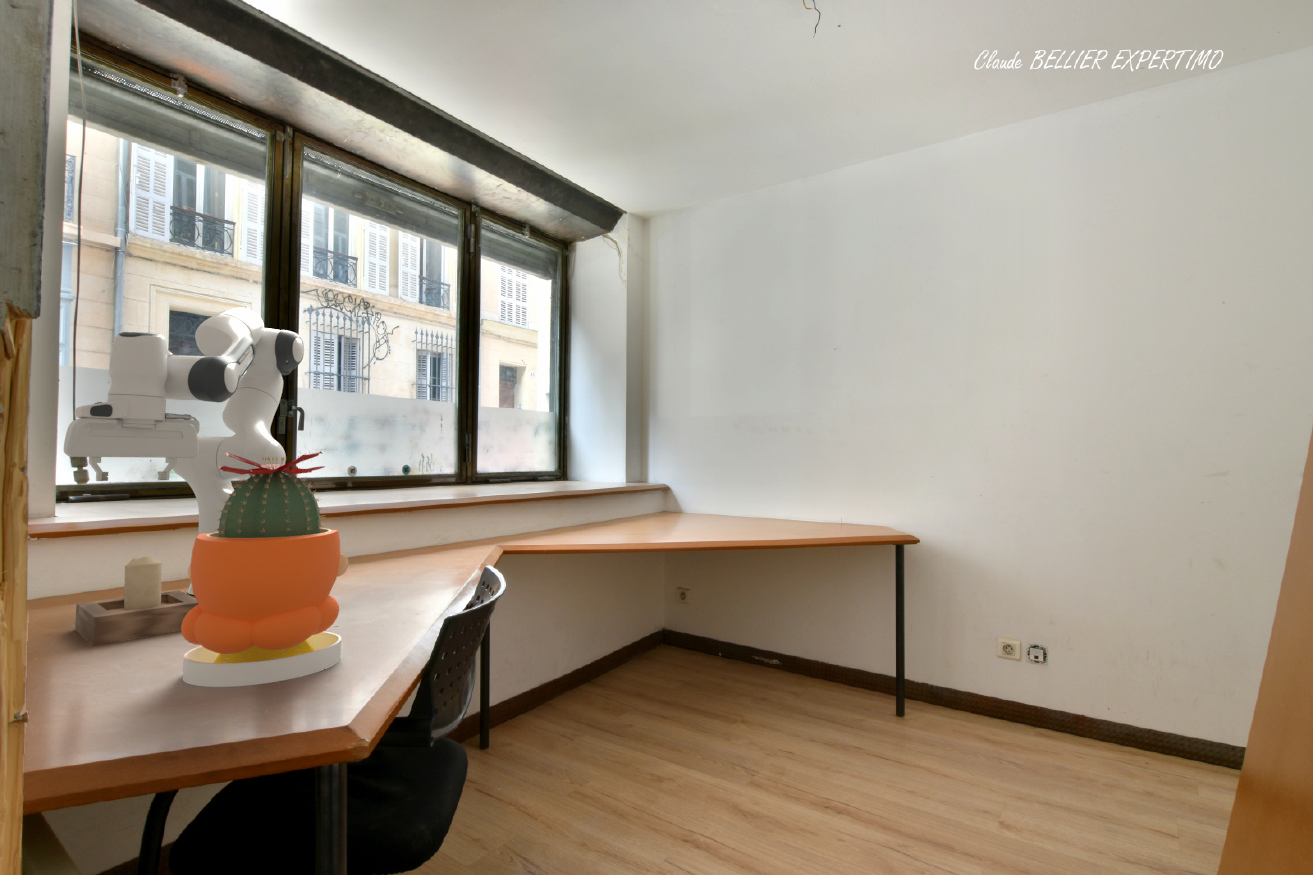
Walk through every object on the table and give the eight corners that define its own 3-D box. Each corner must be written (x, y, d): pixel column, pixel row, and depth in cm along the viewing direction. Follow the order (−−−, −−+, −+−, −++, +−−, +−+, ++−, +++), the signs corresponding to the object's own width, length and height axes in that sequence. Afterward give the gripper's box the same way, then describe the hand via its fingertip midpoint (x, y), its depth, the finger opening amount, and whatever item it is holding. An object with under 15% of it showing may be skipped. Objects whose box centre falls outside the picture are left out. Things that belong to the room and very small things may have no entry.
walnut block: (177, 616, 128) (178, 590, 128) (202, 629, 118) (203, 601, 119) (74, 632, 115) (76, 603, 116) (92, 648, 106) (94, 617, 106)
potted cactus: (199, 658, 100) (209, 449, 101) (348, 644, 109) (356, 452, 110) (150, 707, 80) (163, 447, 82) (337, 685, 89) (346, 450, 90)
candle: (165, 606, 118) (165, 555, 119) (128, 611, 114) (129, 558, 115) (155, 605, 121) (156, 555, 122) (120, 610, 117) (121, 558, 118)
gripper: (194, 415, 130) (192, 479, 129) (63, 408, 113) (59, 481, 113) (205, 414, 126) (202, 480, 125) (70, 406, 109) (66, 482, 109)
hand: (133, 480), depth 119 cm, fingers open, 8 cm apart
